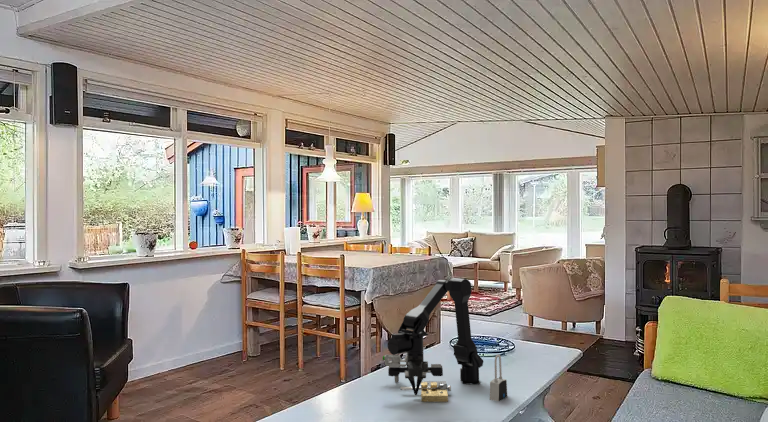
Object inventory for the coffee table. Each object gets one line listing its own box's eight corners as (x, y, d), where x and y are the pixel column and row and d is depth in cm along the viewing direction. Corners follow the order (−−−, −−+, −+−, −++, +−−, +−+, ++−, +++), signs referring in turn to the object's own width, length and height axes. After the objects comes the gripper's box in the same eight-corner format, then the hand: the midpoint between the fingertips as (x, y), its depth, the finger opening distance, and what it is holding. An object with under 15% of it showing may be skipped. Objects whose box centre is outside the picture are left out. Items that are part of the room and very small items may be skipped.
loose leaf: (446, 392, 207) (446, 382, 207) (448, 401, 197) (447, 391, 197) (421, 392, 208) (421, 382, 208) (421, 401, 197) (421, 391, 197)
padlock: (499, 401, 196) (498, 357, 196) (488, 399, 199) (487, 355, 199) (508, 396, 201) (507, 353, 201) (497, 394, 204) (496, 351, 204)
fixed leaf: (449, 386, 214) (449, 376, 214) (451, 395, 204) (450, 385, 204) (401, 386, 215) (401, 377, 215) (400, 395, 205) (400, 385, 205)
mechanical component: (409, 383, 219) (408, 357, 219) (382, 382, 221) (382, 356, 221) (410, 381, 222) (410, 355, 222) (384, 380, 224) (383, 354, 224)
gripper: (387, 355, 194) (388, 402, 194) (443, 355, 193) (443, 402, 193) (388, 347, 205) (389, 392, 205) (441, 347, 204) (442, 392, 204)
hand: (415, 394), depth 202 cm, fingers closed
